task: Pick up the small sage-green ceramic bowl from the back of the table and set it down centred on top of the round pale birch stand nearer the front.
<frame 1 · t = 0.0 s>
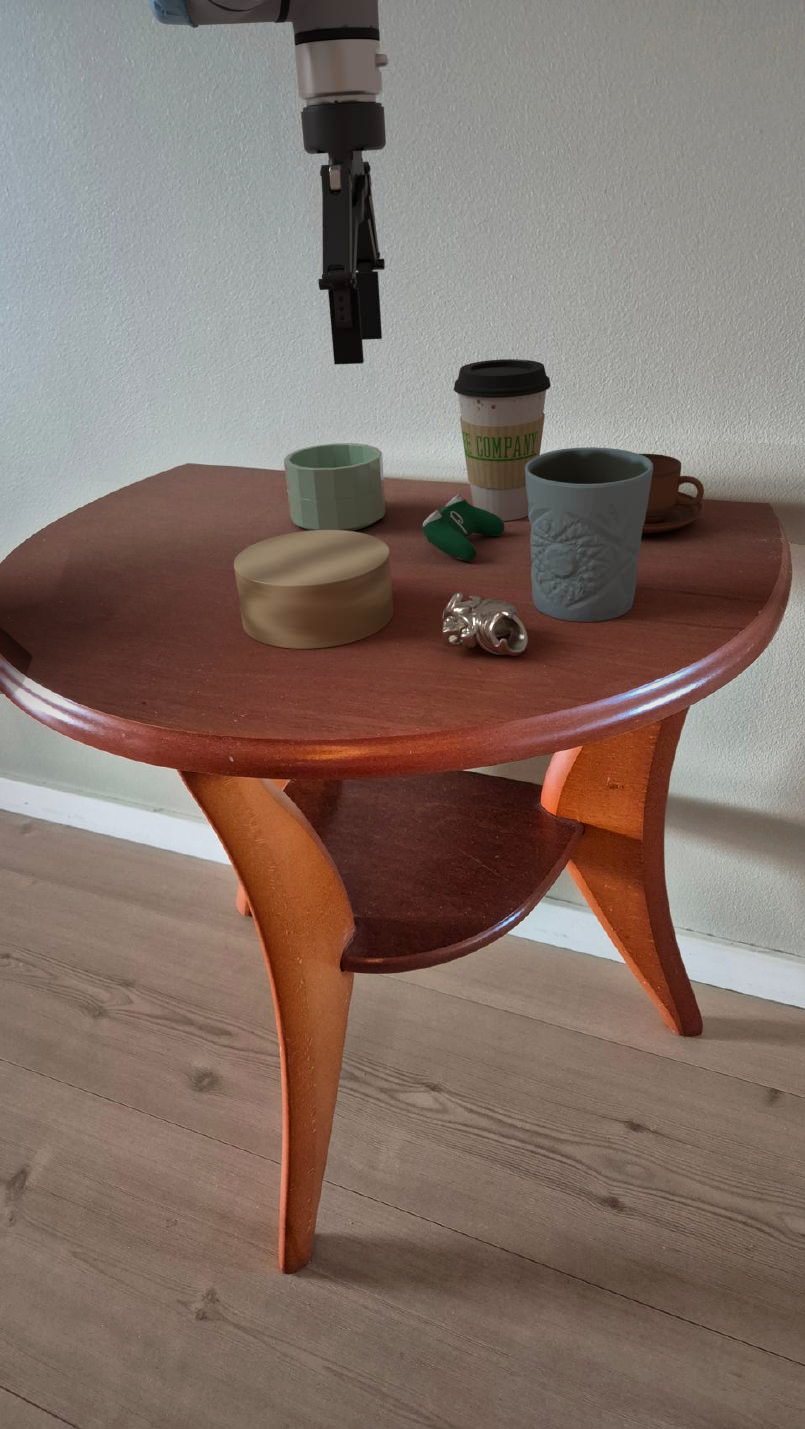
hand: (359, 351, 99), 17 cm above the table, tool pointing down, fingers open, 13 cm apart
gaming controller: (462, 548, 98), on the table
ornament: (478, 647, 79), on the table
bowl: (338, 520, 108), on the table
cup and saucer: (639, 525, 102), on the table
stand: (318, 616, 85), on the table
blue-grey embossed tumbler: (583, 605, 85), on the table
coffee cup: (502, 513, 107), on the table
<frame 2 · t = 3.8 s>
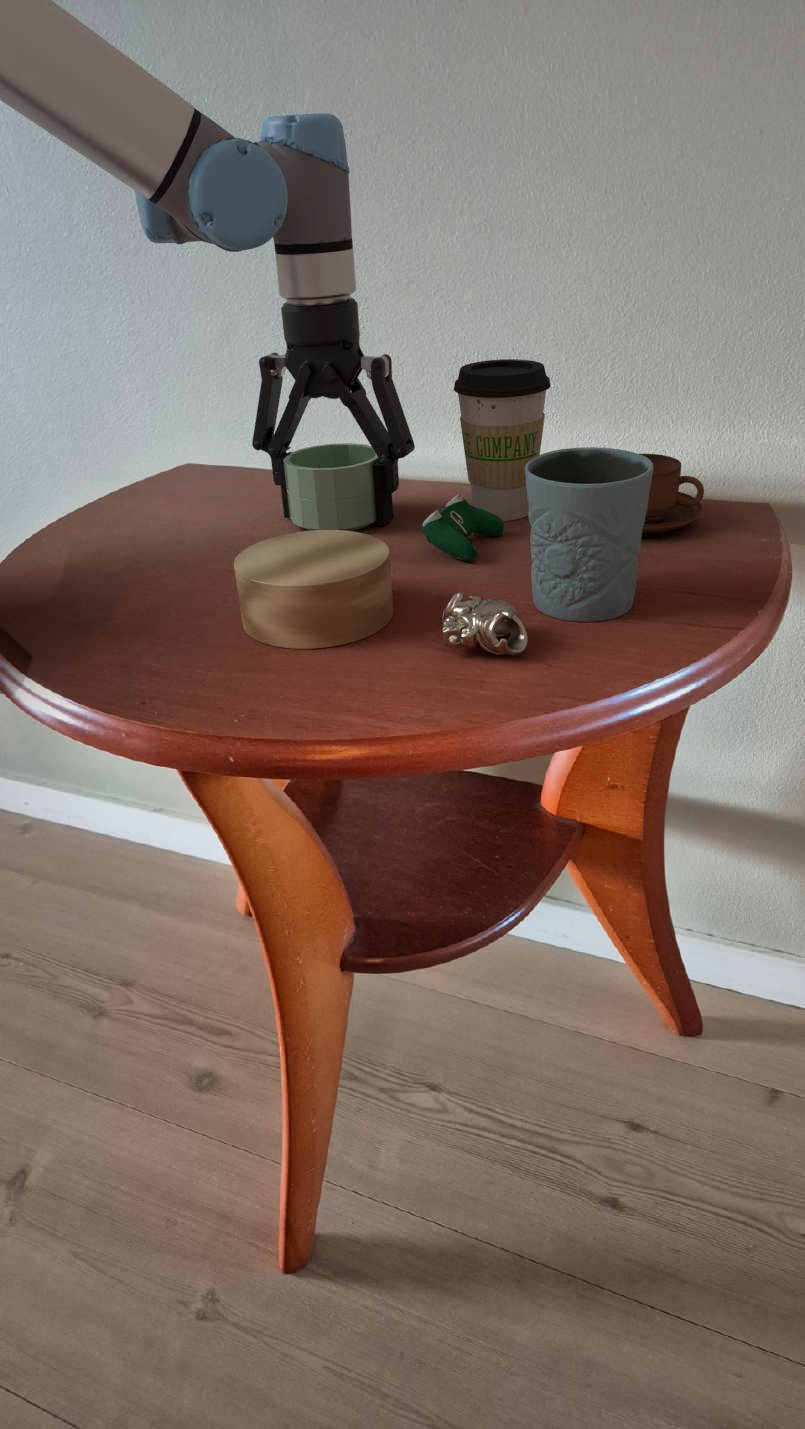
hand: (338, 517, 107), 0 cm above the table, tool pointing down, fingers closed on bowl, 10 cm apart
bowl: (338, 520, 108), on the table, touching gripper
everything else where it was.
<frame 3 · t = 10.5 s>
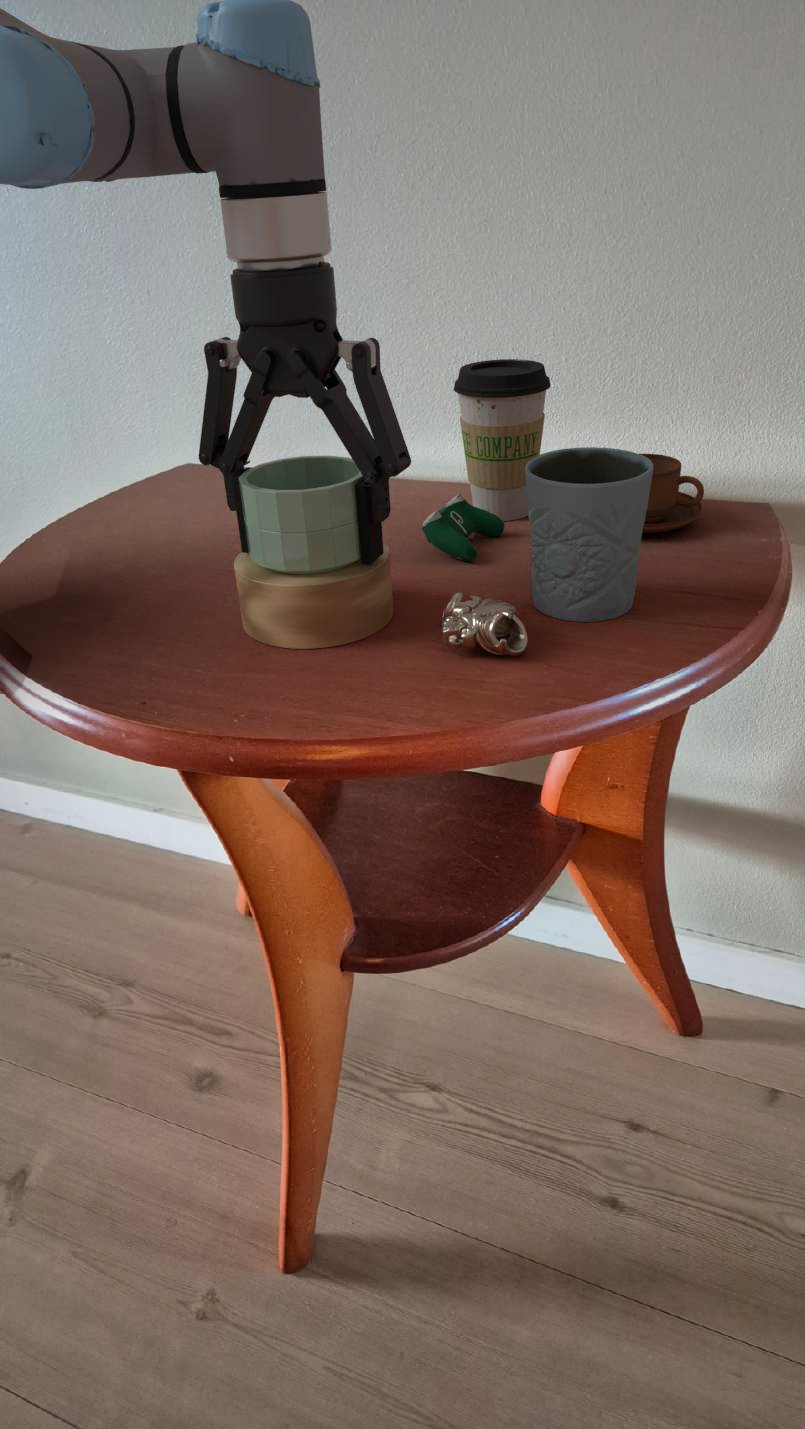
hand: (312, 553, 82), 6 cm above the table, tool pointing down, fingers closed on bowl, 10 cm apart
bowl: (312, 555, 83), point 6 cm above the table, touching gripper, stand
everything else where it was.
when the fingers open (6 cm above the table, at t = 10.8 s): bowl stays where it is, resting on stand.
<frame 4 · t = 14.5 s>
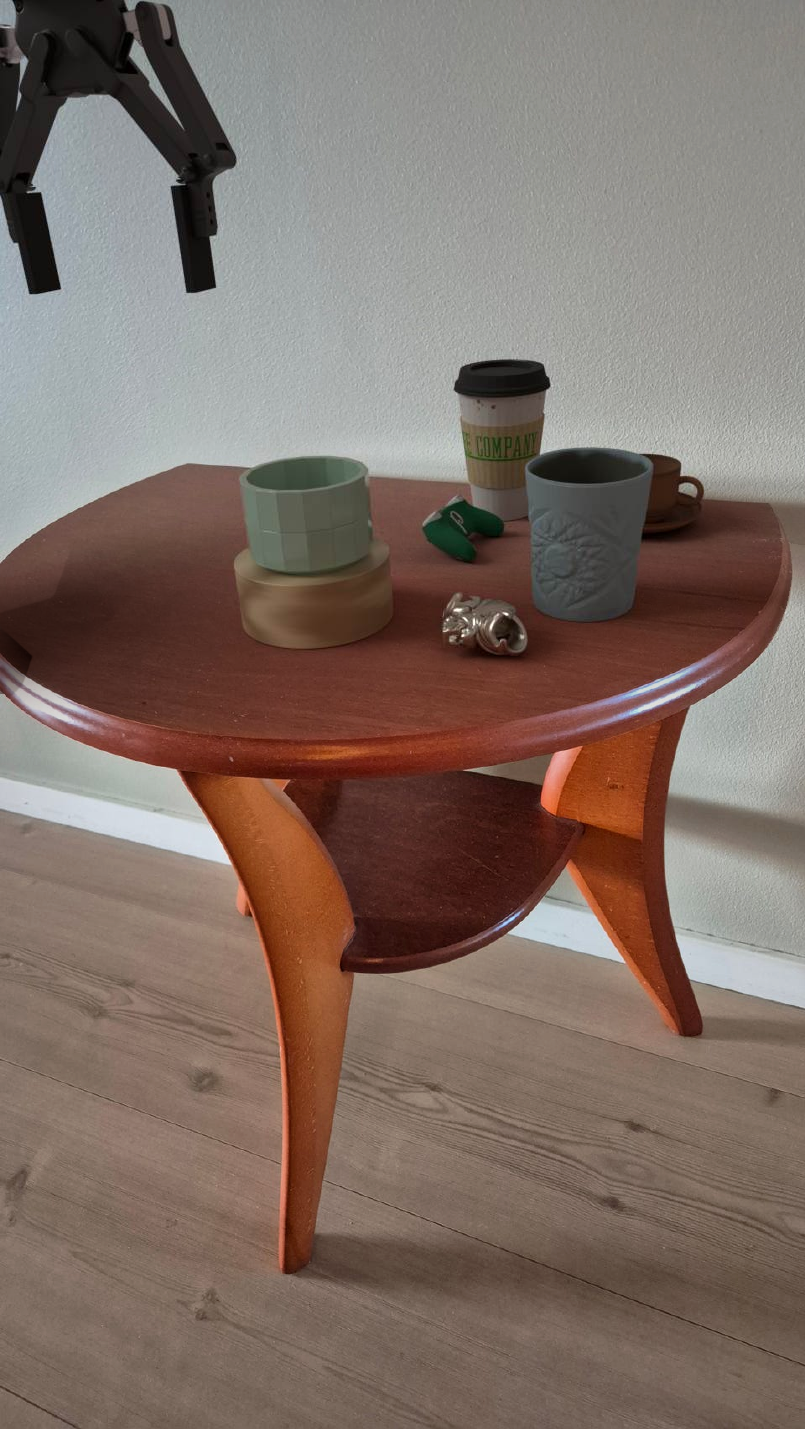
hand: (121, 292, 71), 27 cm above the table, tool pointing down, fingers open, 13 cm apart
bowl: (312, 555, 83), point 5 cm above the table, touching stand
everything else where it was.
at the end: bowl 0.0 cm off-centre on the stand, point 5.5 cm above the stand's base; bowl tilted 0°; the gripper is holding nothing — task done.
